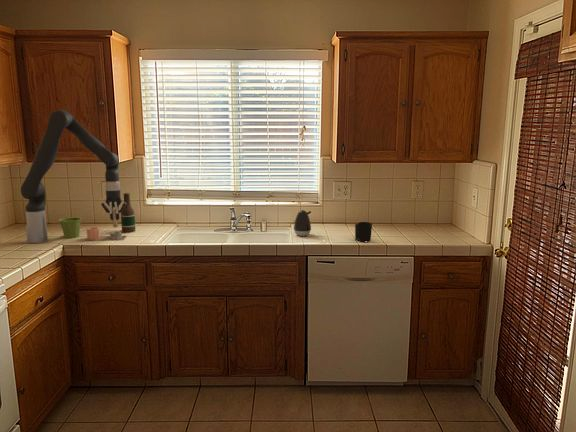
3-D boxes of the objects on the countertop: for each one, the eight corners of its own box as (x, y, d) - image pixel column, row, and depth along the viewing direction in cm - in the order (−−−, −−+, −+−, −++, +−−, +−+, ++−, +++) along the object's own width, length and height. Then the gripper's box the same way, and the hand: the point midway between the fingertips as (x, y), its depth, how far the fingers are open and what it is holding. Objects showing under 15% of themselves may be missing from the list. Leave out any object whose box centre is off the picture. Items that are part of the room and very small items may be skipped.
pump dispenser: (313, 236, 269) (314, 211, 266) (297, 237, 266) (297, 212, 263) (307, 232, 279) (308, 208, 276) (291, 233, 276) (291, 209, 273)
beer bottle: (121, 234, 270) (118, 194, 265) (123, 231, 277) (120, 192, 273) (134, 234, 271) (132, 194, 267) (136, 231, 279) (134, 192, 274)
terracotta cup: (86, 240, 252) (85, 229, 251) (89, 237, 258) (88, 227, 257) (98, 239, 253) (97, 229, 252) (101, 237, 259) (100, 226, 258)
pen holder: (352, 238, 265) (353, 221, 263) (368, 238, 266) (369, 221, 264) (356, 242, 256) (357, 225, 254) (373, 242, 257) (374, 225, 255)
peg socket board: (83, 243, 250) (82, 235, 249) (89, 238, 260) (88, 231, 260) (123, 242, 253) (123, 235, 252) (127, 237, 263) (127, 230, 263)
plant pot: (83, 235, 267) (81, 216, 265) (83, 239, 257) (82, 220, 255) (60, 237, 262) (58, 217, 260) (60, 241, 252) (58, 221, 250)
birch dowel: (112, 227, 255) (111, 209, 253) (113, 226, 257) (112, 209, 255) (117, 227, 255) (115, 209, 253) (117, 226, 257) (116, 209, 255)
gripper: (98, 190, 247) (100, 221, 250) (124, 190, 249) (126, 221, 252) (101, 188, 254) (103, 219, 258) (127, 188, 256) (129, 218, 260)
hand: (115, 220), depth 255 cm, fingers closed on birch dowel, 2 cm apart
